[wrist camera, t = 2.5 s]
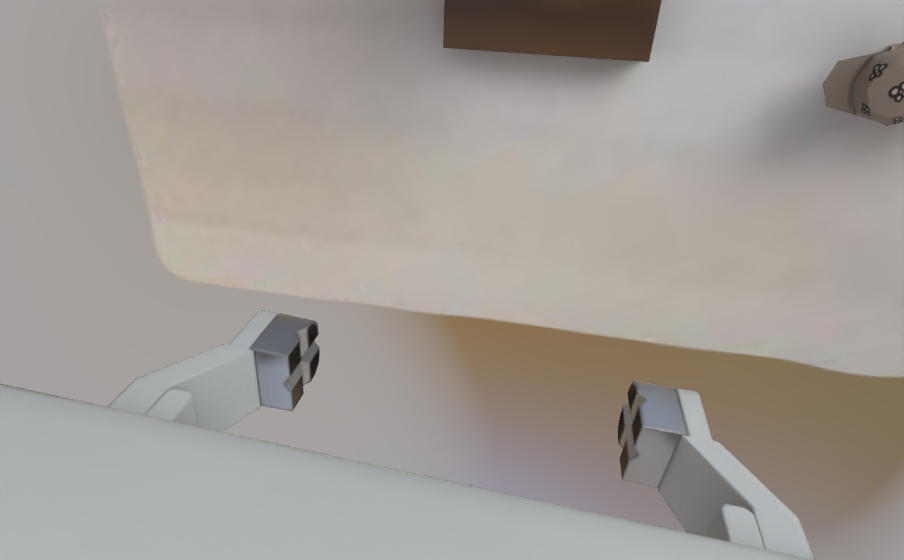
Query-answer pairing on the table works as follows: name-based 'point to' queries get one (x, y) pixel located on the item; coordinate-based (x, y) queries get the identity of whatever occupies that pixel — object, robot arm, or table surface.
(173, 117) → the table surface
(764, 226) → the table surface
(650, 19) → the platform
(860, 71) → the toy character
